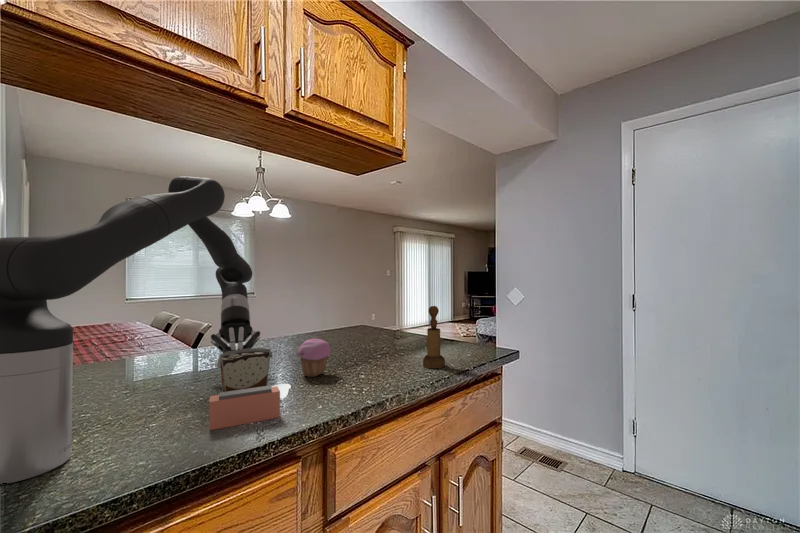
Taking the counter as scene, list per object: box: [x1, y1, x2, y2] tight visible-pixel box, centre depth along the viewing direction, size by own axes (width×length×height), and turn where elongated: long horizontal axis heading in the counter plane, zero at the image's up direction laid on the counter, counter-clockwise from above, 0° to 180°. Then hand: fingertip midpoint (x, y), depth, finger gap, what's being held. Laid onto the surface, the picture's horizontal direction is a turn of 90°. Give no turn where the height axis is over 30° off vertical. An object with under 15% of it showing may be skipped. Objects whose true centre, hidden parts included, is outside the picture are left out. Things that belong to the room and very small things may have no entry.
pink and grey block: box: [208, 385, 281, 431], centre depth 66 cm, size 12×4×6 cm, turn 118°
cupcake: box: [297, 337, 332, 378], centre depth 96 cm, size 9×9×10 cm
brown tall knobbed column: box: [422, 305, 446, 369], centre depth 105 cm, size 7×6×18 cm
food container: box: [216, 347, 273, 392], centre depth 80 cm, size 12×6×10 cm, turn 141°
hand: (237, 364), depth 90 cm, fingers closed
